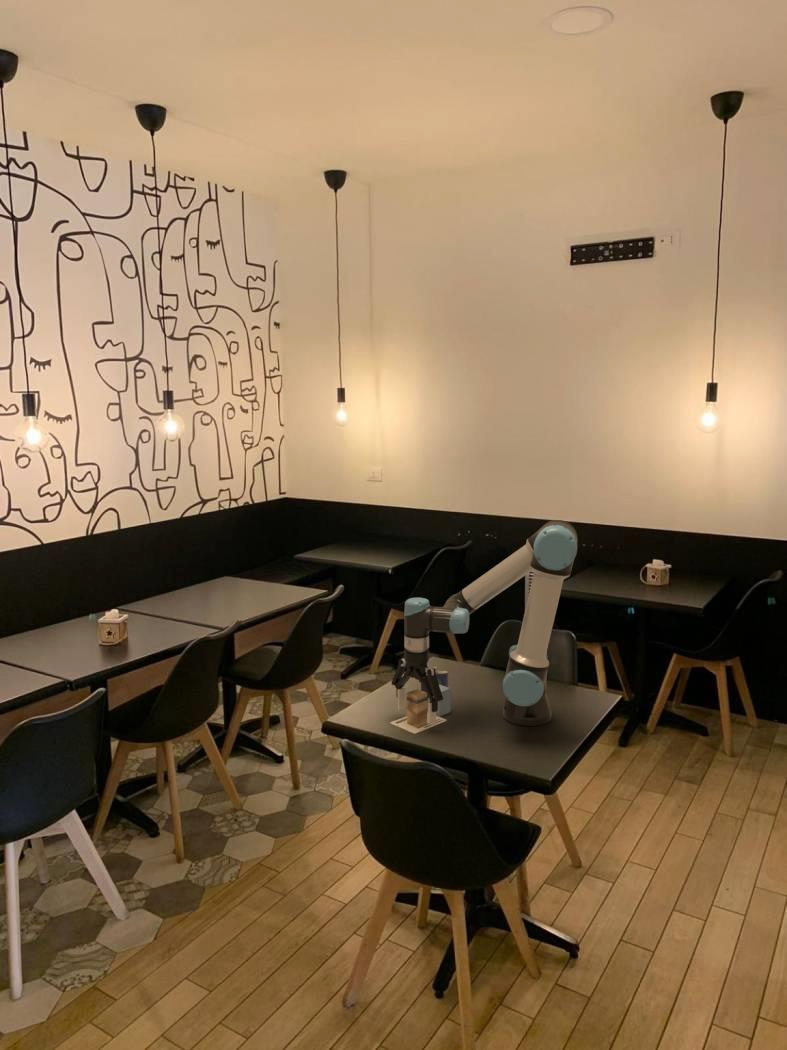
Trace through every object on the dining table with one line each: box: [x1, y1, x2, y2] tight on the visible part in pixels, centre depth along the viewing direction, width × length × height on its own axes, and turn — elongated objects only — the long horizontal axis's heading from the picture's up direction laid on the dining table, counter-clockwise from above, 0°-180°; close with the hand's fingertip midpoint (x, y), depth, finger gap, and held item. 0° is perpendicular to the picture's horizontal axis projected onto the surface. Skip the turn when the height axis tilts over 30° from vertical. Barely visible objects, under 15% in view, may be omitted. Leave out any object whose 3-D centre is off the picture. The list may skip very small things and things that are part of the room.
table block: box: [406, 688, 428, 728], centre depth 244 cm, size 4×4×10 cm
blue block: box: [427, 685, 452, 717], centre depth 253 cm, size 5×5×8 cm
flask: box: [420, 666, 449, 699], centre depth 266 cm, size 9×3×11 cm, turn 88°
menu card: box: [389, 711, 448, 735], centre depth 246 cm, size 11×14×1 cm
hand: (416, 714), depth 244 cm, fingers open, 13 cm apart
